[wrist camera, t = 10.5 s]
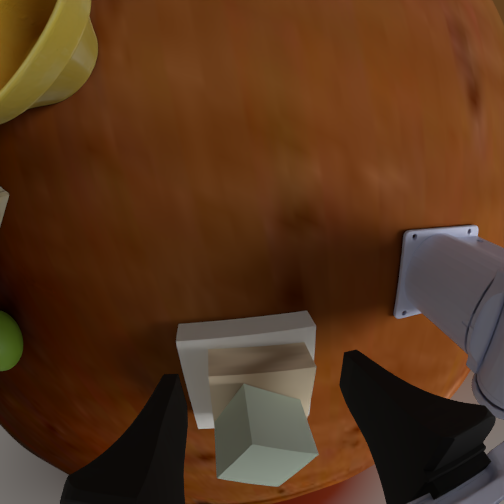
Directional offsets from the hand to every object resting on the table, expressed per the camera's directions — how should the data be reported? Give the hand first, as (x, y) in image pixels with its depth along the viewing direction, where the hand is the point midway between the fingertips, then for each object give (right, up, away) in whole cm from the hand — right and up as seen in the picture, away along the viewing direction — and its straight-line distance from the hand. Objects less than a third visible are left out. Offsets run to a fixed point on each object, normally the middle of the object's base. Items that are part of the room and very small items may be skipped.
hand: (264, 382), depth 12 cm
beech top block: (0, -4, +10) cm, 11 cm away
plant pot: (-14, +19, +3) cm, 24 cm away
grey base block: (-1, -4, +13) cm, 14 cm away
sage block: (0, -6, +7) cm, 9 cm away
